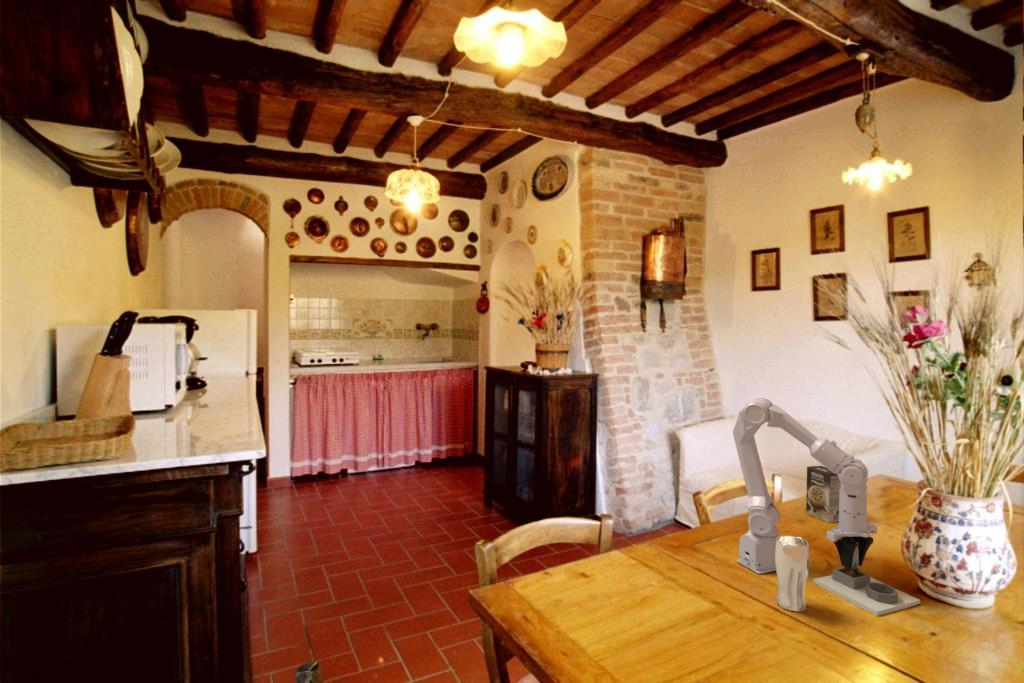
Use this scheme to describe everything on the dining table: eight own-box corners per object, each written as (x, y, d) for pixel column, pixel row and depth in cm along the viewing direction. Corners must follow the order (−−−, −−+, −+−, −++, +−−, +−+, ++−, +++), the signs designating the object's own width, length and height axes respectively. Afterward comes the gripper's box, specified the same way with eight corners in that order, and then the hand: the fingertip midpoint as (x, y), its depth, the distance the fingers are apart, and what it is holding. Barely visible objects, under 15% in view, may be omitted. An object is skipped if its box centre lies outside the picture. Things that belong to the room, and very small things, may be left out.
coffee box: (804, 513, 181) (805, 466, 180) (819, 511, 183) (820, 464, 182) (828, 523, 172) (829, 473, 172) (843, 521, 174) (844, 472, 173)
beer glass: (790, 615, 118) (791, 548, 118) (767, 599, 125) (768, 536, 124) (815, 611, 120) (817, 545, 120) (791, 595, 127) (792, 533, 126)
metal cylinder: (851, 580, 129) (852, 543, 129) (841, 575, 132) (841, 539, 132) (861, 578, 130) (862, 542, 130) (850, 573, 133) (851, 537, 133)
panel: (877, 616, 118) (877, 600, 118) (813, 582, 133) (813, 569, 133) (920, 604, 123) (920, 589, 123) (854, 573, 138) (854, 560, 138)
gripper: (846, 520, 124) (845, 577, 125) (890, 512, 129) (888, 567, 130) (819, 510, 131) (818, 564, 131) (862, 503, 136) (860, 555, 136)
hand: (851, 565), depth 131 cm, fingers closed on metal cylinder, 3 cm apart
